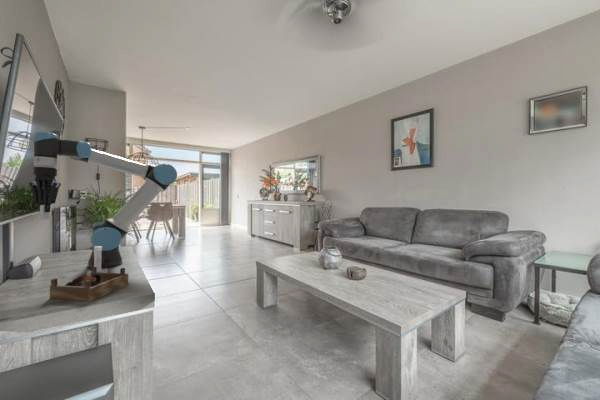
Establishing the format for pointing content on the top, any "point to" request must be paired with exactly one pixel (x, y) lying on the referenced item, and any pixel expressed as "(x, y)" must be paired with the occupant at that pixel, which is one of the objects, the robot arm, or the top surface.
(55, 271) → the top surface
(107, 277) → the brown wooden tray
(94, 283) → the broken pottery fragment
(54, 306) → the top surface
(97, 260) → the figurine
